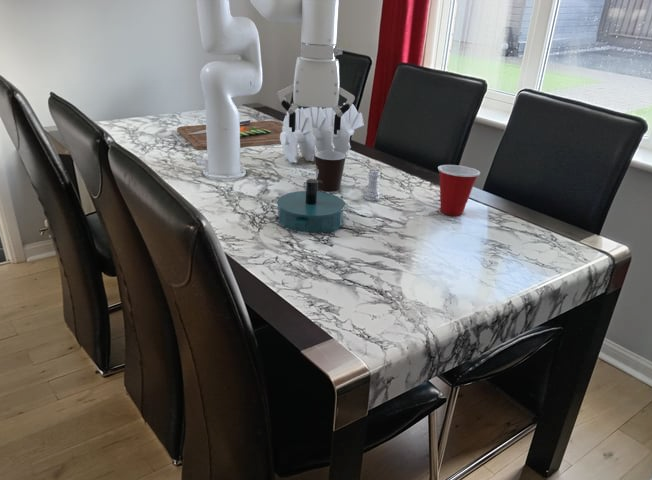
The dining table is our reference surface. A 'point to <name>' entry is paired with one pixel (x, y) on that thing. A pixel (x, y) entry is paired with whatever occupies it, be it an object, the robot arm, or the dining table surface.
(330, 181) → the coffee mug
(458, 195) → the plastic cup
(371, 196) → the rook chess piece
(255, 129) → the chopping board
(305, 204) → the lid
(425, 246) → the dining table surface
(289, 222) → the pot
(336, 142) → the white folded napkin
